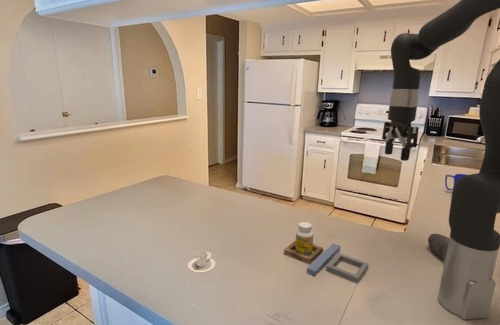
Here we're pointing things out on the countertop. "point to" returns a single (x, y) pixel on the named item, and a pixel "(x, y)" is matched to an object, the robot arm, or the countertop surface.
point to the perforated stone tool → (438, 244)
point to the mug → (454, 179)
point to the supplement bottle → (304, 239)
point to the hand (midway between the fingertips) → (396, 157)
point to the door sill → (323, 259)
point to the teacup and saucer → (202, 261)
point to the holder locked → (299, 256)
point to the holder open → (345, 274)
